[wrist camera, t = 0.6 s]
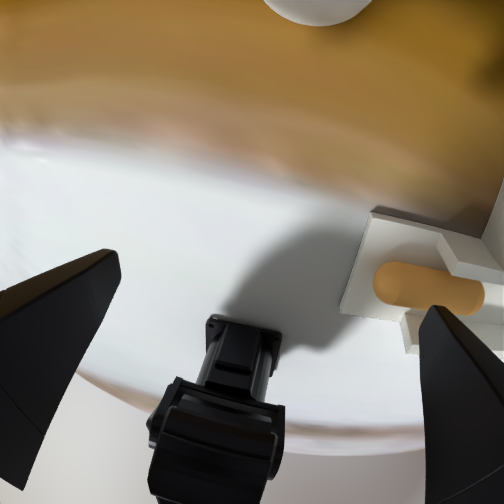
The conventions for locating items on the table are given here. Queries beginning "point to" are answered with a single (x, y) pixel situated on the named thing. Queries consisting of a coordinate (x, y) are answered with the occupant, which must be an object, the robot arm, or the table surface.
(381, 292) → the orange rounded block
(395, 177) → the table surface
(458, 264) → the white open box
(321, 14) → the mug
